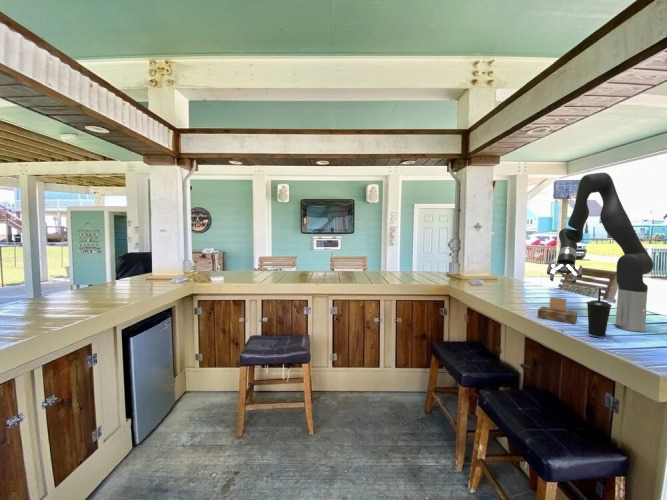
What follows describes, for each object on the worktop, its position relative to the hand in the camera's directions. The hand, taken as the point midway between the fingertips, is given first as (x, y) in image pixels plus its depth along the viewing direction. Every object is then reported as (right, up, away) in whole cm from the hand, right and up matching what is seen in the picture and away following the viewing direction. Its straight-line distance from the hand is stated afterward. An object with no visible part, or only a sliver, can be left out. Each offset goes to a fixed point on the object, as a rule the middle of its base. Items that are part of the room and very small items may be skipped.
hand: (562, 281), depth 152 cm
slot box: (-8, -18, -7) cm, 21 cm away
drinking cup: (-8, -20, -29) cm, 36 cm away
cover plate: (-8, -17, -7) cm, 20 cm away
